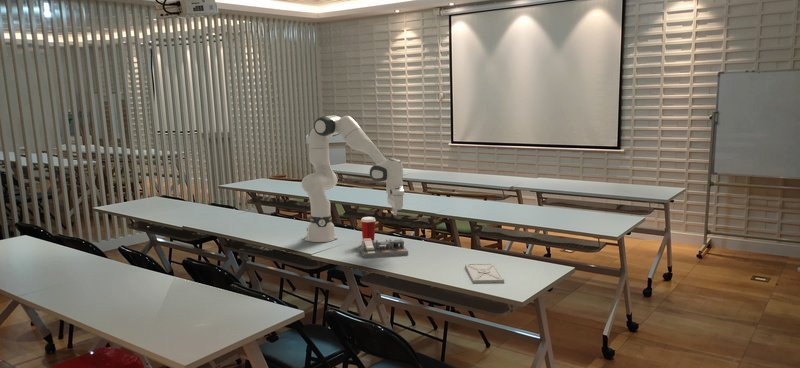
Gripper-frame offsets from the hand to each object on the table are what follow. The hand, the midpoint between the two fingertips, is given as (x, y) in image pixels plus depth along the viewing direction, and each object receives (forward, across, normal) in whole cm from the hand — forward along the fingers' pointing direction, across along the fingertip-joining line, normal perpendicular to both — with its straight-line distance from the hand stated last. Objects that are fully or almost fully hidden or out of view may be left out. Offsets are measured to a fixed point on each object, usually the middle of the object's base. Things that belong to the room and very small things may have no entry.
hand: (394, 214), depth 310 cm
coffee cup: (+19, -13, -12) cm, 26 cm away
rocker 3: (+14, +4, 0) cm, 15 cm away
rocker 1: (+14, +4, -15) cm, 21 cm away
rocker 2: (+14, +4, -7) cm, 16 cm away
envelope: (+19, +54, +29) cm, 65 cm away
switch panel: (+19, +6, -7) cm, 21 cm away
